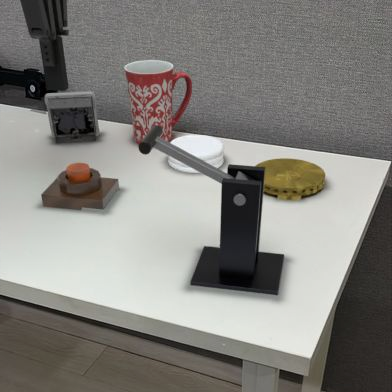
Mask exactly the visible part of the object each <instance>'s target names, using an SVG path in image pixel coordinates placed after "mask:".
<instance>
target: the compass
mask: <svg viewBox="0 0 392 392" xmlns="http://www.w3.org/2000/svg"><path fill="white" fill-rule="evenodd" d="M255 166H257V167H265V180H264V192H265V193H267V194H270V195H275V196H277V200H284V201H299V200H301V199H302V197H304V196H310V195H312V194H316V193H318V192H319V191H321V190H324V188H325V181H326V172H325V170H324V169H323V168H322V167H320V166H319V165H318V164H315V163H314V162H311V161H307V160H303V159H299V158H298V159H297V158H286V157H285V158H280V157H279V158H272V159H267V160H264V161H261V162H258V163H257V164H255Z"/></svg>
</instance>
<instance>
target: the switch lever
mask: <svg viewBox="0 0 392 392" xmlns="http://www.w3.org/2000/svg"><path fill="white" fill-rule="evenodd" d="M162 134H163V129H162V128H161V127H160V126H159V125H154V126H153V127H152V128H151V129H150V131H149V132H148V133H147V135H146V136H145V137H144V139H143V140H142V141H141V142H140V144H138V151H139V153H140V154H142V155H146V156H147V155H149V154H150V153H151V152H152V150H153V149H155V150H157V151H159V152H161V153H163V154H165V155H167V156H168V157H169V156H170V157H172V158H174V159H176V160H178V161H180V162H182V163H183V164H185V165H187V166H189V167H191V168H193V169H195V170H197V171H198V172H200V173H199V174H202V175H204V176H206V177H208V178H210V179H212V180H214V181H215V182H217V183H219V184H221V185H222V180H223V178H228V179H240V180H252V181H256V180H255V179H253V178H251V177H249V176H247V175H245V174H243V173H242V172H240V171H238V173H237V175H236V177H235V178H234V177H233V176H231V175H229V174H227V172H225V171H223V170H222V169H219V168H216V167H214V166H212V165H210V164H208V163H207V162H205V161H203V160H201V159H199V158H197V157H195V156H194V155H192V154H190V153H188V152H186V151H184V150H182V149H180V148H179V147H177V146H175V145H173V144H171V143H170V142H167V141H166V140H164V139H162V138H160V137H161V136H162Z"/></svg>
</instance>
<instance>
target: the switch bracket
mask: <svg viewBox="0 0 392 392" xmlns="http://www.w3.org/2000/svg"><path fill="white" fill-rule="evenodd" d="M226 167H227V169H226V173H227V174H229V175H231V176H233V177H234V178H235V177H236V175H237V173H238V171H240V172H242V173H243V174H245V175H247V176H249V177H251V178H253V179H255V180H256V181H252V180H240V179H228V178H223V180H222V184H221V192H220V194H221V195H220V223H219V225H220V226H219V227H220V229H219V231H220V232H219V247H218V246H209V245H203V248H202V251H201V253H200V256H199V258H198V261H197V264H196V265H195V266H196V267H195V268H194V271H193V274H192V277H191V279H190V281H189V282H190V286H194V287H202V288H212V289H221V290H230V291H237V292H247V293H254V294H262V295H263V294H264V295H272V296H278V295H279V289H280V283H281V279H282V272H283V265H284V260H285V254H284V253H275V252H265V251H260V240H261V229H262V218H263V217H262V216H263V203H264V180H265V167H257V166H256V165H243V164H228V165H227V166H226Z"/></svg>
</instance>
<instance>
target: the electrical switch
mask: <svg viewBox="0 0 392 392" xmlns="http://www.w3.org/2000/svg"><path fill="white" fill-rule="evenodd" d="M44 103H45V105H46V112H47V117H48V122H49V128H50V134H51V137H52V138H53V139H55V143H73V142H82V141H84V142H85V141H97V137H98V136H100V127H99V120H98V119H99V117H98V109H97V100H96V94H95V92H93V91H92V90H88V91H70V92H69V91H68V92H50V93H49V92H48V93H45V95H44Z"/></svg>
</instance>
